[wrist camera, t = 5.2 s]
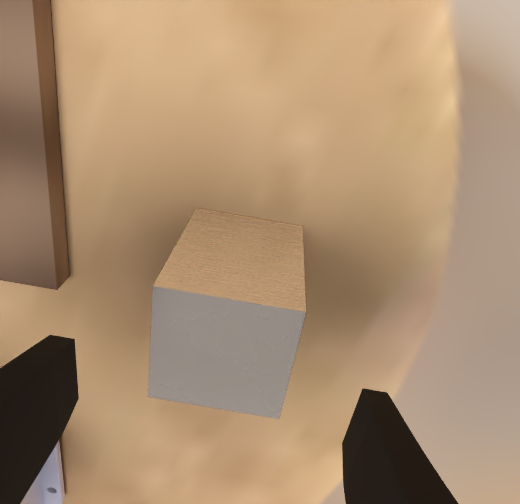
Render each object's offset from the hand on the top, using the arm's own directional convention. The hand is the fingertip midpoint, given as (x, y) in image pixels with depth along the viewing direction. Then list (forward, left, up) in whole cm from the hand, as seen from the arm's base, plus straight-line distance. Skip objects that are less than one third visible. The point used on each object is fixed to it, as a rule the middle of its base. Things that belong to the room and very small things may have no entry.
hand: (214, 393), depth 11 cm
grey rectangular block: (0, 0, -7) cm, 7 cm away
